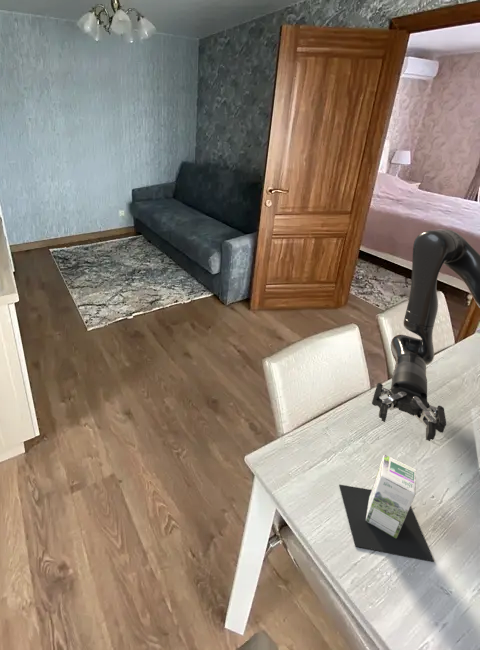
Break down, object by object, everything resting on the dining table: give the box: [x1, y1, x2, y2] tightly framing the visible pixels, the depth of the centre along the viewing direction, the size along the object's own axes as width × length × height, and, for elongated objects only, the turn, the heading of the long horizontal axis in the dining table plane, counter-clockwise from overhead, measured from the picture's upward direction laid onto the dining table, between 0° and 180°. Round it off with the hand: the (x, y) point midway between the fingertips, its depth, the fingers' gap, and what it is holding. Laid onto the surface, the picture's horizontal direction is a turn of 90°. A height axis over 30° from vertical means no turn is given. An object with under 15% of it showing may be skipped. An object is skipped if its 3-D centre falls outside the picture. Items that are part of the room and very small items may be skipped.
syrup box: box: [366, 454, 417, 538], centre depth 69 cm, size 6×6×14 cm
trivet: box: [338, 484, 435, 563], centre depth 72 cm, size 14×12×1 cm
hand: (405, 428), depth 76 cm, fingers open, 8 cm apart
